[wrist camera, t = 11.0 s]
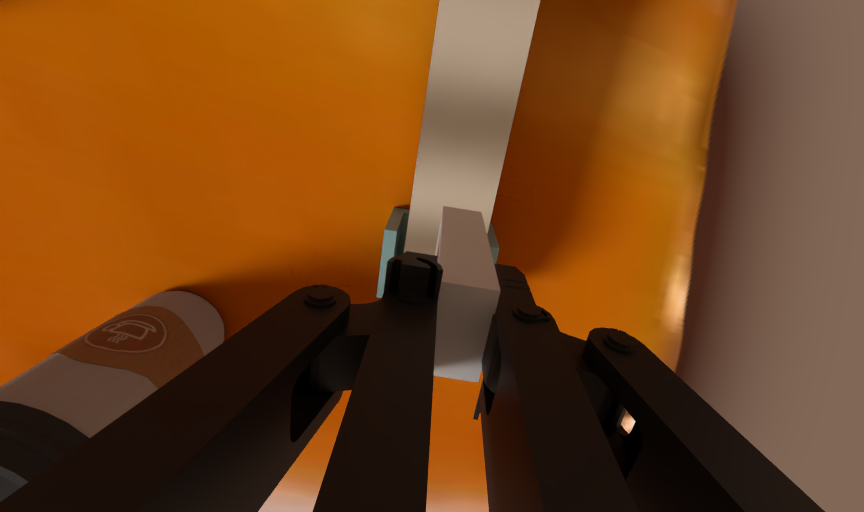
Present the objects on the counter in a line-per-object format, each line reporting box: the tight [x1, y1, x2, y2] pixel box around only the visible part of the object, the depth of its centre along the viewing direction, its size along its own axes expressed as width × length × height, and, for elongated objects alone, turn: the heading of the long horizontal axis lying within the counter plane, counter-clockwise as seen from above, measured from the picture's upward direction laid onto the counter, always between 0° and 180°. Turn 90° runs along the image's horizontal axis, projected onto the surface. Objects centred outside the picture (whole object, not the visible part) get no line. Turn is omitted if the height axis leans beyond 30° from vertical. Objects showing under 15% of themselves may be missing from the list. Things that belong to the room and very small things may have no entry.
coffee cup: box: [0, 291, 225, 502], centre depth 25 cm, size 8×8×15 cm
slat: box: [404, 0, 540, 255], centre depth 21 cm, size 20×4×6 cm, turn 171°
